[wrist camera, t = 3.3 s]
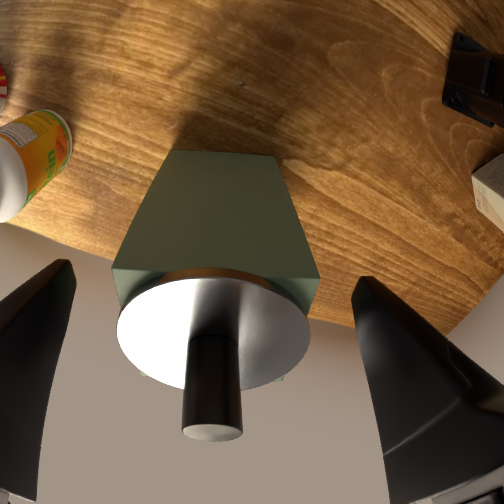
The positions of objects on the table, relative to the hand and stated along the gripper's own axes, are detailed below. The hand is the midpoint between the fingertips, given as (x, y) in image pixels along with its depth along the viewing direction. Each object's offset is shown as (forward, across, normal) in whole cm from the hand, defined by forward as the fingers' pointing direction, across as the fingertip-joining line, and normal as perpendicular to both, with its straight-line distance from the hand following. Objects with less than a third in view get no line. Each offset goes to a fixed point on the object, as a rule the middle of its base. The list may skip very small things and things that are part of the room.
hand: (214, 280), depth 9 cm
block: (+13, 0, +4) cm, 14 cm away
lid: (+1, 0, +4) cm, 4 cm away
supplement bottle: (+13, +13, 0) cm, 19 cm away
